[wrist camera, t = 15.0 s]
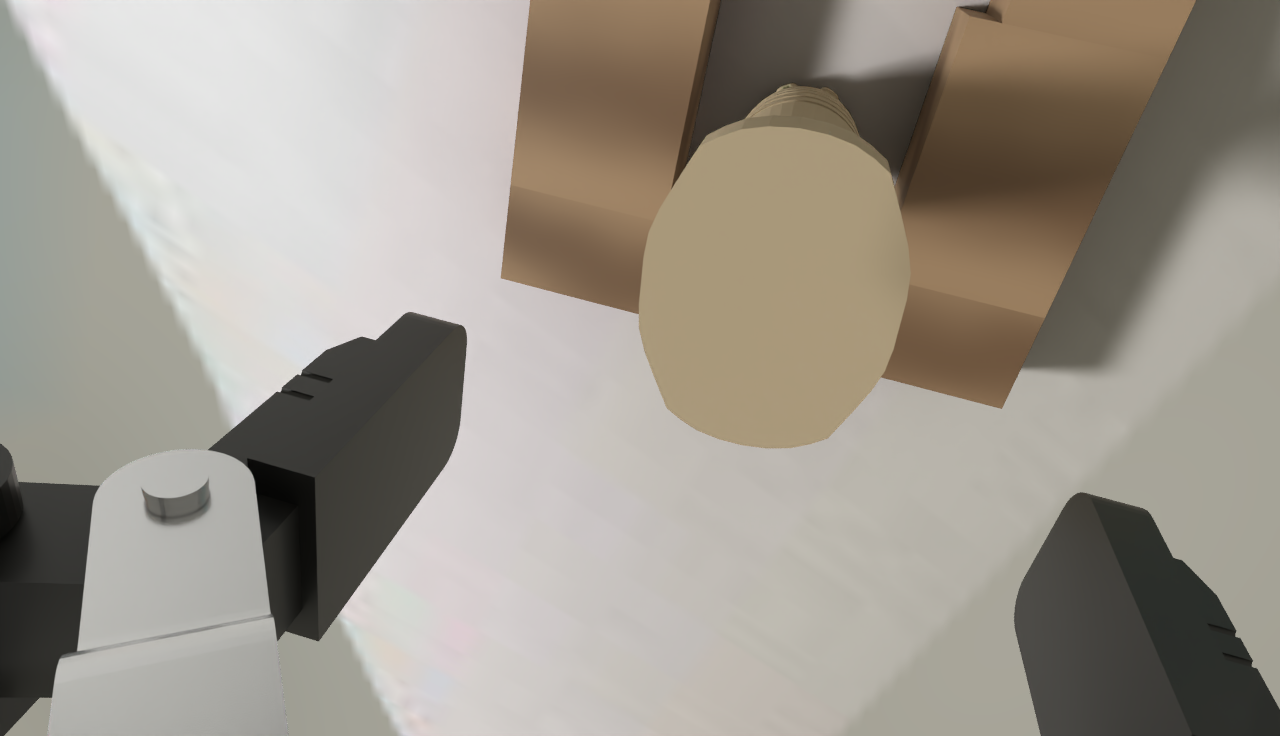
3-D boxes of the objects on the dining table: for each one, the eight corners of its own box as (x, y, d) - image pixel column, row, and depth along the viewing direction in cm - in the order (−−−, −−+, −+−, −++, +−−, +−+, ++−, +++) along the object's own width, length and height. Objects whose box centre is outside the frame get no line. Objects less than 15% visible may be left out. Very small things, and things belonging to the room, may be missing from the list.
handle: (895, 37, 27) (947, 148, 14) (852, 230, 30) (861, 468, 17) (745, 19, 27) (658, 108, 14) (718, 209, 30) (627, 423, 17)
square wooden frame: (622, -526, 22) (589, -594, 19) (1340, -409, 20) (1423, -464, 17) (527, 249, 33) (497, 281, 30) (988, 368, 31) (1003, 413, 28)
